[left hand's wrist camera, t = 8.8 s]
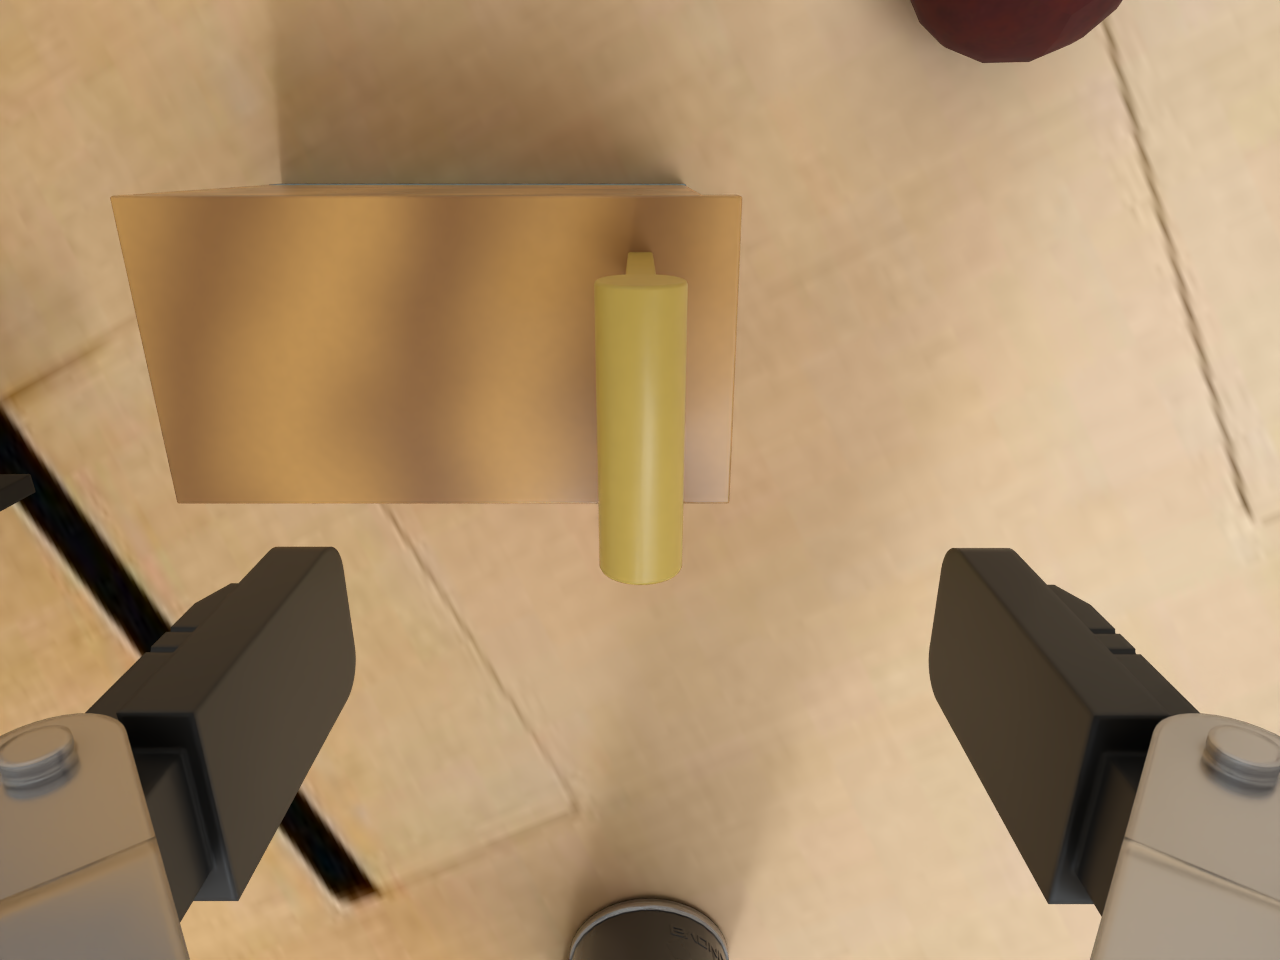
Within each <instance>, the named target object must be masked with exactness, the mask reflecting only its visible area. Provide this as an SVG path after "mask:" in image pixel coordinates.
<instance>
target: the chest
mask: <svg viewBox="0 0 1280 960" xmlns="http://www.w3.org/2000/svg"><path fill="white" fill-rule="evenodd" d="M134 195H701V194H699V193H697V192H696V191H694V190H692V189H690V188H689V187H687V186H686V185H685V184H272V185H263V186H249V187H234V188H220V189H206V190H191V191H177V192H163V193H148V194H134Z"/></svg>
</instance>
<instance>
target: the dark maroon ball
mask: <svg viewBox="0 0 1280 960" xmlns="http://www.w3.org/2000/svg"><path fill="white" fill-rule="evenodd" d="M911 2H912V5H913V7H914V10H915V12H916V15H917V17H918V19H919V22H920V23H921V24H922V25H923V26H924V27H925V28H926V29H927V30H928V31H929V32H930V33H931V34H932V35H933V36H934V37H935V38H936V40H937V41H938V42H939V43H940V44H942V45H943V46H944V47H946V48H948V49H951V50H953V51H955V52H958V53H960V54H963V55H965V56H967V57H970V58H972V59H975V60H977V61H979V62H982V63H999V62H1030V61H1032V60H1034V59H1037V58H1039V57H1041V56H1044V55H1046V54H1048V53H1051V52H1053V51H1056V50H1058V49H1060V48H1063V47H1065V46H1067V45H1070V44H1072V43H1073V42H1075V41H1077V40H1079V39H1081V38H1082V37H1084V36H1085V35H1086V34H1087V33H1088V32H1090V31H1091V30H1092V29H1093V28H1094V27H1096V26H1097V25H1098V24H1099V23H1100V22H1101V21H1103V20H1104V19H1105V18H1106V17H1107V16H1109V15H1110V14H1111V13H1112V12H1113V11H1115V10H1116V9H1117V7H1118V6H1119V4H1120V3H1121V2H1122V0H911Z"/></svg>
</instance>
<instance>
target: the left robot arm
mask: <svg viewBox="0 0 1280 960" xmlns="http://www.w3.org/2000/svg"><path fill="white" fill-rule="evenodd" d="M355 663H356V656H355V645H354V638H353V631H352V624H351V618H350V611H349V604H348V597H347V590H346V583H345V577H344V570H343V564H342V560H341V557H340V555H339V553H338V551H337V550H336V549H335V548H334V547H274V548H272V549H271V550H270V551H269V552H268V553H267V554H266V555H265V556H264V557H263V558H262V559H261V560H260V561H259V562H258V563H257V565H256V566H255V567H254V568H253V569H252V570H251V571H250V572H249V573H248V574H247V575H246V576H245V577H244V578H243V579H242V580H241V581H240V582H239V583H231V584H229V585H227V586H226V587H224V588H222V589H220V590H218V591H217V592H215V593H213V594H211V595H209V596H208V597H206V598H204V599H202V600H200V601H199V602H197V603H195V604H194V605H193V606H192V607H191V608H190V609H189V610H188V611H187V612H186V613H185V614H184V615H183V616H182V617H181V618H180V619H179V620H178V621H177V622H176V623H175V624H174V625H173V626H172V627H171V632H166V633H165V634H164V635H163V636H162V637H161V638H160V639H159V640H158V641H157V642H156V643H155V644H154V645H153V646H152V647H151V652H146V653H145V654H144V655H143V656H142V657H141V658H140V659H139V660H138V661H137V662H136V663H135V664H134V665H133V666H132V667H131V668H130V669H129V670H128V671H127V672H126V673H125V674H124V675H123V676H122V677H121V678H120V679H119V680H118V681H117V682H116V683H115V684H114V685H113V686H112V687H111V688H110V689H109V690H108V691H107V692H106V693H105V694H104V695H103V696H102V697H101V698H100V699H99V700H98V701H97V702H96V703H95V704H94V705H93V706H92V707H91V708H90V709H89V710H88V711H87V712H86V713H79V714H69V715H62V716H57V717H52V718H48V719H44V720H41V721H37V722H34V723H31V724H28V725H25V726H22V727H20V728H17V729H15V730H13V731H10V732H8V733H6V734H4V735H2V736H0V960H190V958H189V954H188V951H187V947H186V944H185V940H184V936H183V933H182V929H181V926H180V922H181V920H182V918H183V917H184V915H185V913H186V912H187V910H188V909H189V907H190V905H191V904H192V902H193V901H238V900H239V899H240V897H241V895H242V893H243V891H244V889H245V888H246V886H247V884H248V882H249V880H250V878H251V876H252V875H253V873H254V871H255V869H256V867H257V865H258V864H259V862H260V860H261V858H262V856H263V854H264V852H265V851H266V849H267V847H268V845H269V843H270V841H271V840H272V838H273V836H274V834H275V832H276V830H277V828H278V827H279V825H280V823H281V821H282V819H283V817H284V816H285V814H286V812H287V810H288V808H289V806H290V804H291V803H292V801H293V799H294V797H295V795H296V793H297V792H298V790H299V788H300V786H301V784H302V782H303V780H304V779H305V777H306V775H307V773H308V771H309V769H310V768H311V766H312V764H313V762H314V760H315V758H316V757H317V755H318V753H319V751H320V749H321V747H322V745H323V744H324V742H325V740H326V738H327V736H328V734H329V733H330V731H331V729H332V727H333V725H334V723H335V721H336V720H337V718H338V716H339V714H340V712H341V710H342V709H343V707H344V705H345V703H346V701H347V699H348V697H349V695H350V692H351V689H352V685H353V681H354V675H355ZM929 674H930V680H931V685H932V689H933V692H934V695H935V698H936V700H937V702H938V704H939V705H940V707H941V709H942V711H943V713H944V715H945V716H946V718H947V720H948V722H949V724H950V726H951V727H952V729H953V731H954V733H955V735H956V736H957V738H958V740H959V742H960V744H961V746H962V747H963V749H964V751H965V753H966V755H967V757H968V758H969V760H970V762H971V764H972V766H973V767H974V769H975V771H976V773H977V775H978V777H979V778H980V780H981V782H982V784H983V786H984V788H985V789H986V791H987V793H988V795H989V797H990V798H991V800H992V802H993V804H994V806H995V808H996V809H997V811H998V813H999V815H1000V817H1001V819H1002V820H1003V822H1004V824H1005V826H1006V828H1007V829H1008V831H1009V833H1010V835H1011V837H1012V839H1013V840H1014V842H1015V844H1016V846H1017V848H1018V850H1019V851H1020V853H1021V855H1022V857H1023V859H1024V860H1025V862H1026V864H1027V866H1028V868H1029V870H1030V871H1031V873H1032V875H1033V877H1034V879H1035V881H1036V882H1037V884H1038V886H1039V888H1040V890H1041V891H1042V893H1043V895H1044V897H1045V899H1046V901H1047V902H1048V904H1094V905H1095V906H1096V908H1097V910H1098V911H1099V913H1100V915H1101V916H1102V918H1101V922H1100V926H1099V929H1098V933H1097V936H1096V940H1095V944H1094V947H1093V951H1092V954H1091V958H1090V960H1280V736H1278V735H1276V734H1274V733H1272V732H1270V731H1267V730H1265V729H1263V728H1260V727H1258V726H1255V725H1252V724H1249V723H1246V722H1243V721H1239V720H1236V719H1232V718H1228V717H1223V716H1218V715H1211V714H1201V713H1199V712H1198V711H1197V710H1196V709H1195V708H1194V707H1193V706H1192V705H1191V704H1190V703H1189V702H1188V701H1187V700H1186V699H1185V698H1184V697H1183V696H1182V695H1181V694H1180V693H1179V692H1178V691H1177V690H1176V689H1175V688H1174V687H1173V686H1172V685H1171V684H1170V683H1169V682H1168V681H1167V680H1166V679H1165V678H1164V677H1163V676H1162V675H1161V674H1160V673H1159V672H1158V671H1157V670H1156V669H1155V668H1154V667H1153V666H1152V665H1151V664H1150V663H1149V662H1148V661H1147V660H1146V659H1145V658H1144V657H1143V656H1142V655H1141V654H1136V653H1135V648H1134V647H1133V646H1132V645H1131V644H1130V643H1129V642H1128V641H1127V640H1126V639H1125V638H1124V637H1123V636H1122V635H1121V634H1115V629H1114V628H1113V627H1112V626H1111V625H1110V624H1109V623H1108V622H1107V621H1106V620H1105V619H1104V618H1103V617H1102V616H1101V615H1100V614H1099V613H1098V612H1097V611H1096V610H1095V609H1094V608H1093V607H1092V606H1091V605H1090V604H1088V603H1086V602H1084V601H1082V600H1081V599H1079V598H1077V597H1075V596H1073V595H1072V594H1070V593H1068V592H1066V591H1064V590H1063V589H1061V588H1059V587H1057V586H1055V585H1047V584H1046V583H1045V582H1044V581H1043V580H1042V579H1041V578H1040V577H1039V576H1038V575H1037V574H1036V573H1035V572H1034V571H1033V570H1032V569H1031V568H1030V567H1029V566H1028V565H1027V563H1026V562H1025V561H1024V560H1023V559H1022V558H1021V557H1020V556H1019V555H1018V554H1017V553H1016V552H1015V551H1014V550H1012V549H1010V548H952V549H950V550H949V551H948V552H947V553H946V555H945V557H944V560H943V563H942V568H941V575H940V582H939V588H938V595H937V602H936V609H935V615H934V622H933V629H932V635H931V642H930V649H929ZM569 960H729V958H728V949H727V945H726V941H725V939H724V937H723V935H722V933H721V931H720V930H719V928H718V927H717V926H716V925H715V924H714V923H713V922H712V921H711V920H710V919H709V918H708V917H706V916H705V915H704V914H702V913H701V912H699V911H697V910H695V909H693V908H691V907H689V906H687V905H684V904H681V903H678V902H674V901H669V900H663V899H636V900H629V901H625V902H621V903H617V904H614V905H612V906H609V907H607V908H605V909H603V910H601V911H599V912H597V913H596V914H594V915H593V916H592V917H590V918H589V919H588V920H587V921H586V922H585V923H584V924H583V925H582V926H581V927H580V928H579V930H578V931H577V933H576V935H575V936H574V938H573V941H572V944H571V948H570V956H569Z"/></svg>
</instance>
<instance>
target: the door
mask: <svg viewBox="0 0 1280 960" xmlns="http://www.w3.org/2000/svg"><path fill="white" fill-rule="evenodd" d="M110 199H111V203H112V208H113V212H114V217H115V221H116V226H117V231H118V235H119V240H120V244H121V249H122V253H123V258H124V262H125V267H126V271H127V276H128V280H129V285H130V289H131V294H132V299H133V303H134V308H135V312H136V317H137V321H138V326H139V330H140V335H141V339H142V344H143V348H144V353H145V357H146V362H147V367H148V371H149V376H150V380H151V385H152V389H153V394H154V398H155V403H156V407H157V412H158V416H159V421H160V425H161V430H162V435H163V439H164V444H165V448H166V453H167V457H168V462H169V466H170V471H171V475H172V480H173V484H174V489H175V494H176V498H177V502H178V503H598V507H599V557H600V568H601V570H602V572H603V573H604V574H605V575H606V576H607V577H609V578H611V579H613V580H615V581H618V582H621V583H626V584H634V585H648V584H656V583H660V582H664V581H667V580H669V579H671V578H673V577H674V576H676V575H677V574H678V573H679V571H680V569H681V567H682V539H683V503H729V495H730V471H731V448H732V425H733V401H734V378H735V354H736V331H737V307H738V284H739V261H740V237H741V214H742V197H741V196H739V195H119V196H111V198H110Z"/></svg>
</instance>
